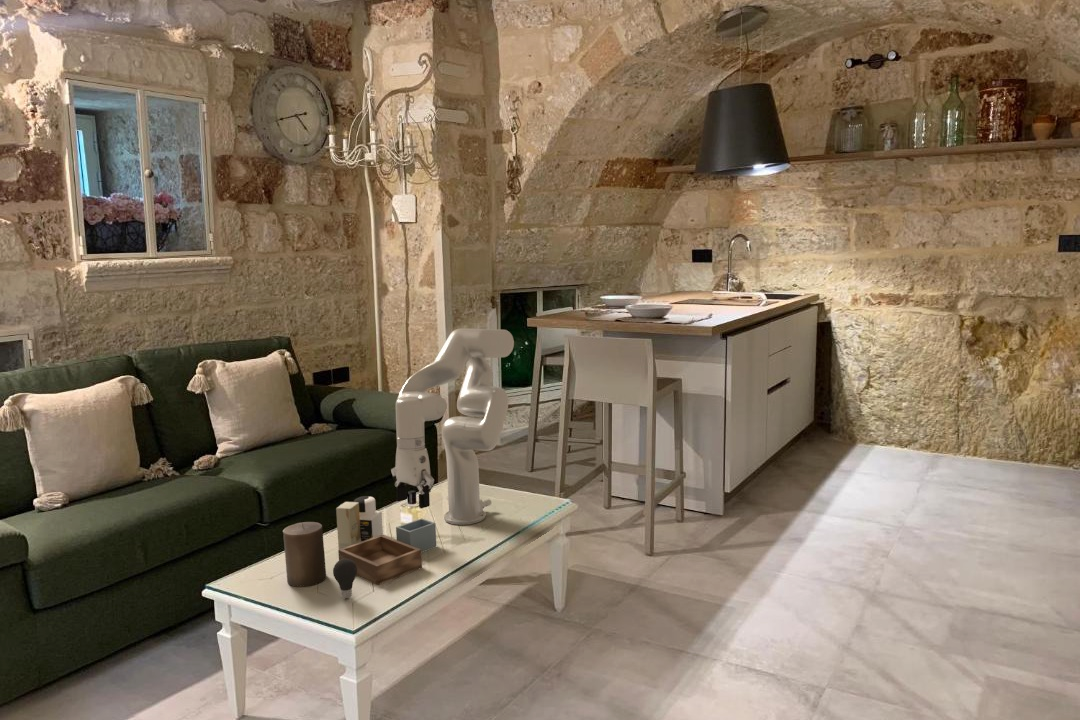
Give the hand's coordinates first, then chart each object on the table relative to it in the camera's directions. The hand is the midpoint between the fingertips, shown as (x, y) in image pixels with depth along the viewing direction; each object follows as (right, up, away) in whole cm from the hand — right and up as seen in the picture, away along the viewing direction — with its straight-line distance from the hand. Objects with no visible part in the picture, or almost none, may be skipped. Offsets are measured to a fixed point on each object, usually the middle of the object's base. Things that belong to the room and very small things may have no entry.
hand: (413, 503), depth 228 cm
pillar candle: (-25, -17, -16) cm, 34 cm away
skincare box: (-19, -13, +6) cm, 23 cm away
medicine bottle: (-15, -12, +12) cm, 23 cm away
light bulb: (-12, -18, -28) cm, 35 cm away
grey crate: (+1, -13, +3) cm, 13 cm away
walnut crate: (-7, -15, -10) cm, 19 cm away
